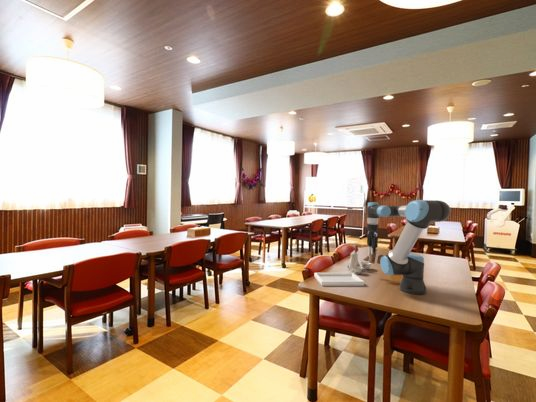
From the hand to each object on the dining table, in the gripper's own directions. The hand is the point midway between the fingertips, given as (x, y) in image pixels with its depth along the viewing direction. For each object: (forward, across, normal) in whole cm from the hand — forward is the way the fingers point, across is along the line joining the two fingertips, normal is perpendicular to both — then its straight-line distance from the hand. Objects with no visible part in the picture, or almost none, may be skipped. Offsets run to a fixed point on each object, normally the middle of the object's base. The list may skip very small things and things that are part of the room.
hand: (371, 256), depth 195 cm
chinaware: (+17, -22, -1) cm, 27 cm away
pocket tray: (+16, +5, -26) cm, 31 cm away
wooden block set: (+5, +2, +2) cm, 6 cm away
